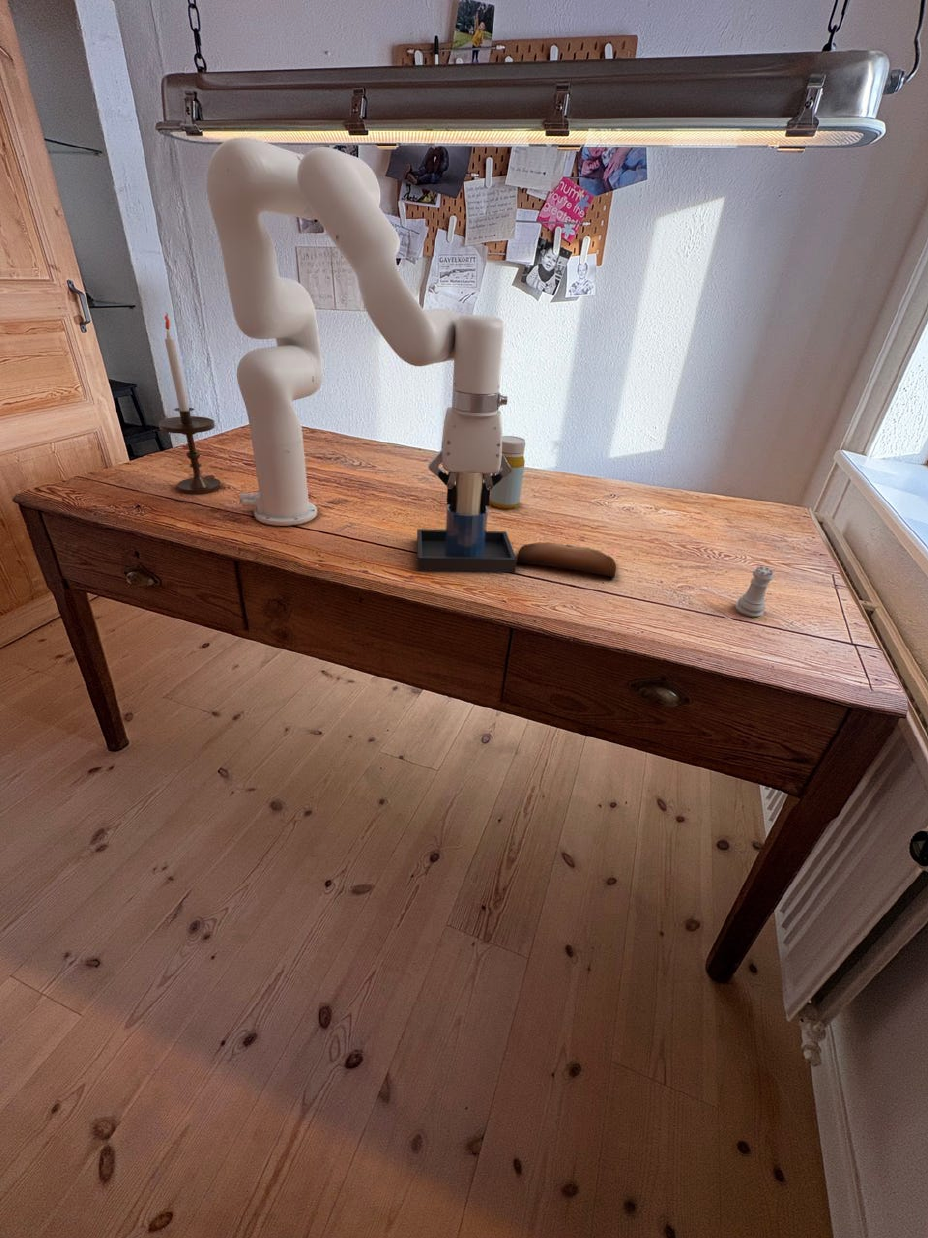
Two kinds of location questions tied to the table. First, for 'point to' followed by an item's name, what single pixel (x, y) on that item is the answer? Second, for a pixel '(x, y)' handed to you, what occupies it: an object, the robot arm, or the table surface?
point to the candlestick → (187, 425)
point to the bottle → (510, 475)
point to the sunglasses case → (567, 558)
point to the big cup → (465, 534)
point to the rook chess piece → (755, 593)
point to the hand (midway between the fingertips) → (467, 507)
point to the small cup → (469, 493)
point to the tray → (494, 559)
